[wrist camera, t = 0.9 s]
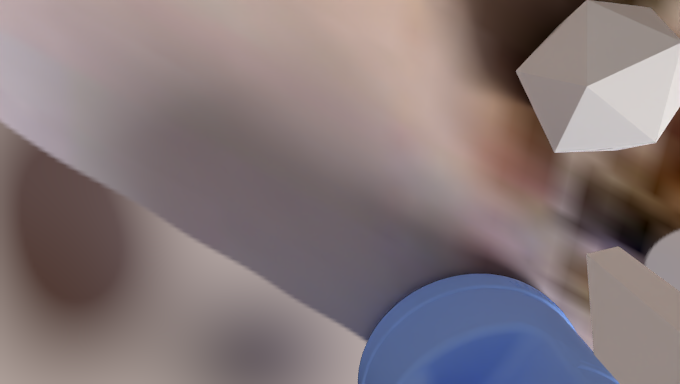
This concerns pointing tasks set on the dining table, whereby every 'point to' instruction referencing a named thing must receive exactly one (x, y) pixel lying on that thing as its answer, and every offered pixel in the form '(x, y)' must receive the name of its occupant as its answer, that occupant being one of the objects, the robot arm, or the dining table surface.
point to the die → (604, 78)
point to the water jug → (478, 338)
